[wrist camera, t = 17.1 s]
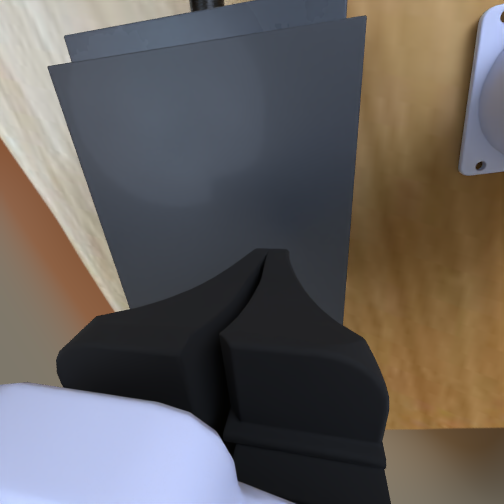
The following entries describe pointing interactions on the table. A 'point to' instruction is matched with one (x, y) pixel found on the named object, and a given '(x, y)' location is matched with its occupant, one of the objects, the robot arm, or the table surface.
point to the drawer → (202, 25)
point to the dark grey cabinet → (222, 155)
